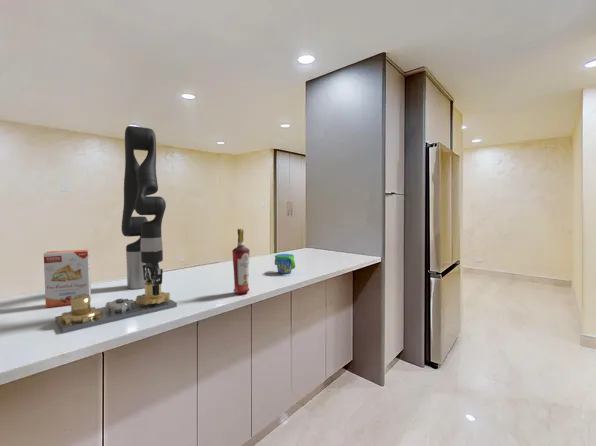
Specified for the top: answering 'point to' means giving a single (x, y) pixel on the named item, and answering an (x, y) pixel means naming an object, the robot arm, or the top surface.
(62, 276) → the cracker box
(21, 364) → the top surface
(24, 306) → the top surface
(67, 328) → the carrier plate
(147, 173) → the robot arm
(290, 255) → the snack cup
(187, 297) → the top surface
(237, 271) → the liquor
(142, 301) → the gear
